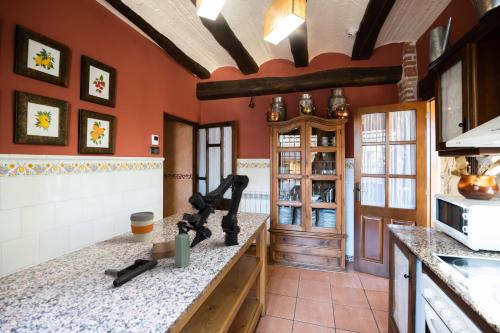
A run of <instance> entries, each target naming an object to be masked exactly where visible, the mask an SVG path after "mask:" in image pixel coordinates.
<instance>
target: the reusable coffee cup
mask: <svg viewBox="0 0 500 333" xmlns="http://www.w3.org/2000/svg"><path fill="white" fill-rule="evenodd" d="M129 218H130V219H129V220H130V228H131V233H132V237H133V238H132V239H133V242H134V243H146V242H150V240H152V232H153V230H154V224H155V222H154V218H155V215H154V212H153V211H138V212H134V213H133V212H132V213H131V214H130V217H129Z"/></svg>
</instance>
